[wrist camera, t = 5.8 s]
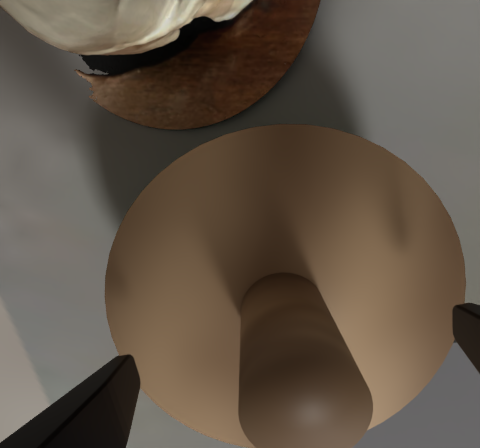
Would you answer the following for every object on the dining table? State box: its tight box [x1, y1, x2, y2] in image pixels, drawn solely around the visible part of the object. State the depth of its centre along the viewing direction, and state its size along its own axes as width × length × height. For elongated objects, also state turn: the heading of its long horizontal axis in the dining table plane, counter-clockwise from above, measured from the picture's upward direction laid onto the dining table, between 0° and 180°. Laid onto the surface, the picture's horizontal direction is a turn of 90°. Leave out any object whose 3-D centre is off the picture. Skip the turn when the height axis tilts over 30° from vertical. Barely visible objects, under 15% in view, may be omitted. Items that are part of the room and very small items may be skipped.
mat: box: [352, 339, 480, 448], centre depth 17 cm, size 12×12×1 cm
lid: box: [105, 124, 466, 448], centre depth 9 cm, size 12×12×5 cm
